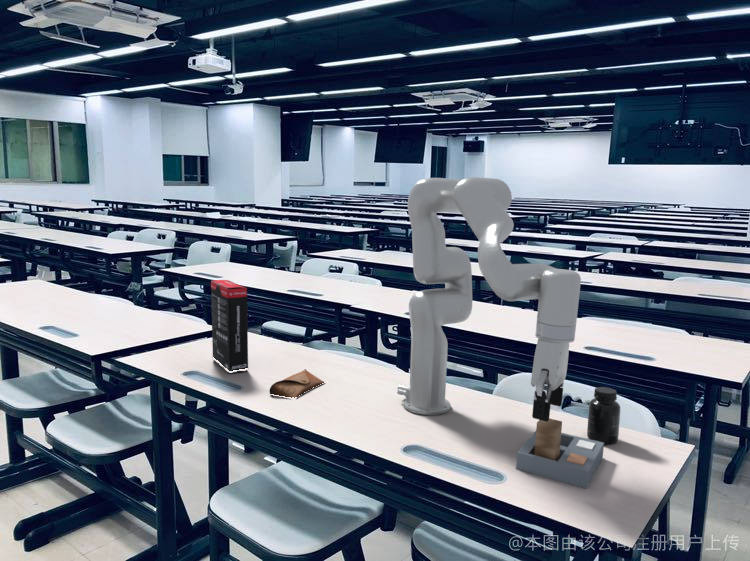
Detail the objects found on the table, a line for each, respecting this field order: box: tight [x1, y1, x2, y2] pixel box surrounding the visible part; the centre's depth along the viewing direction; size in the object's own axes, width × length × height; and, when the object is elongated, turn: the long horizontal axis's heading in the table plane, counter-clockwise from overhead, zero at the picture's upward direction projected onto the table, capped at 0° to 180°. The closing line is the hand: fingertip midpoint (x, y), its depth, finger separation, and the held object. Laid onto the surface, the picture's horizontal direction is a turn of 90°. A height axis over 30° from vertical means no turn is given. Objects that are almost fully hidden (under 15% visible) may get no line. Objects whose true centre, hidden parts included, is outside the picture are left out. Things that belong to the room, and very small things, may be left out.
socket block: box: [515, 431, 605, 489], centre depth 117 cm, size 14×16×4 cm
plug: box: [535, 417, 563, 461], centre depth 114 cm, size 4×4×10 cm
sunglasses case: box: [268, 368, 325, 398], centre depth 159 cm, size 18×7×7 cm
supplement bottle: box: [586, 386, 621, 446], centre depth 129 cm, size 7×7×12 cm
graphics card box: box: [210, 279, 249, 371], centre depth 176 cm, size 17×7×27 cm, turn 34°
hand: (547, 411), depth 114 cm, fingers open, 9 cm apart
